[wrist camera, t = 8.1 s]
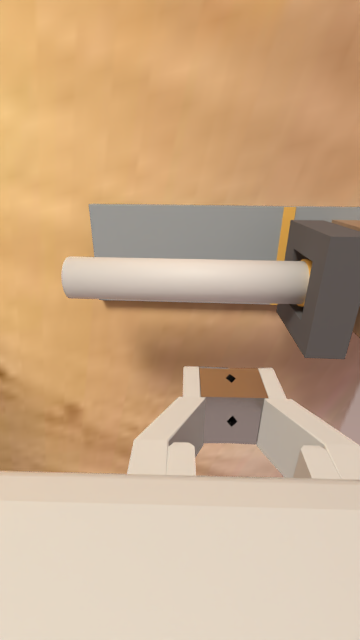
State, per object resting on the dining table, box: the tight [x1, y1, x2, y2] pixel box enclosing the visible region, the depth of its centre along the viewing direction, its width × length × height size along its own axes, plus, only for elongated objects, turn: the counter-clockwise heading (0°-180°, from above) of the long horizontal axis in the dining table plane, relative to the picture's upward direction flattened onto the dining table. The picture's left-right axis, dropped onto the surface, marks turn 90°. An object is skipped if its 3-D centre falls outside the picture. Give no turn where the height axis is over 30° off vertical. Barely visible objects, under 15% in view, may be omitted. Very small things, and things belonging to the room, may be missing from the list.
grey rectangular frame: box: [277, 220, 360, 359], centre depth 21 cm, size 2×8×8 cm, turn 179°
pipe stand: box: [62, 204, 360, 338], centre depth 23 cm, size 25×9×12 cm, turn 89°
